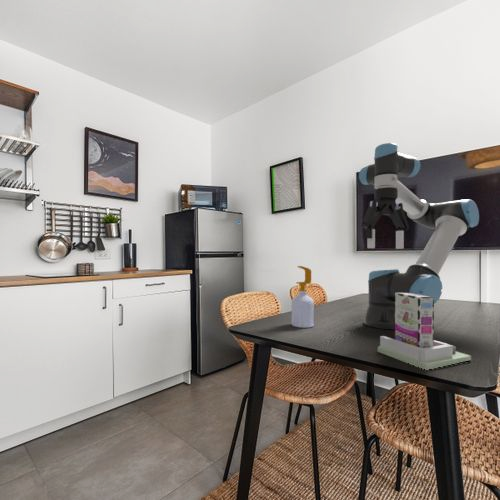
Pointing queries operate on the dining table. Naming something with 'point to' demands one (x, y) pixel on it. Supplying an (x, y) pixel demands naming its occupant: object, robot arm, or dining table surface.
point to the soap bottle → (303, 304)
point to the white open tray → (422, 353)
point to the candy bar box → (414, 319)
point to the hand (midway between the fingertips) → (385, 248)
